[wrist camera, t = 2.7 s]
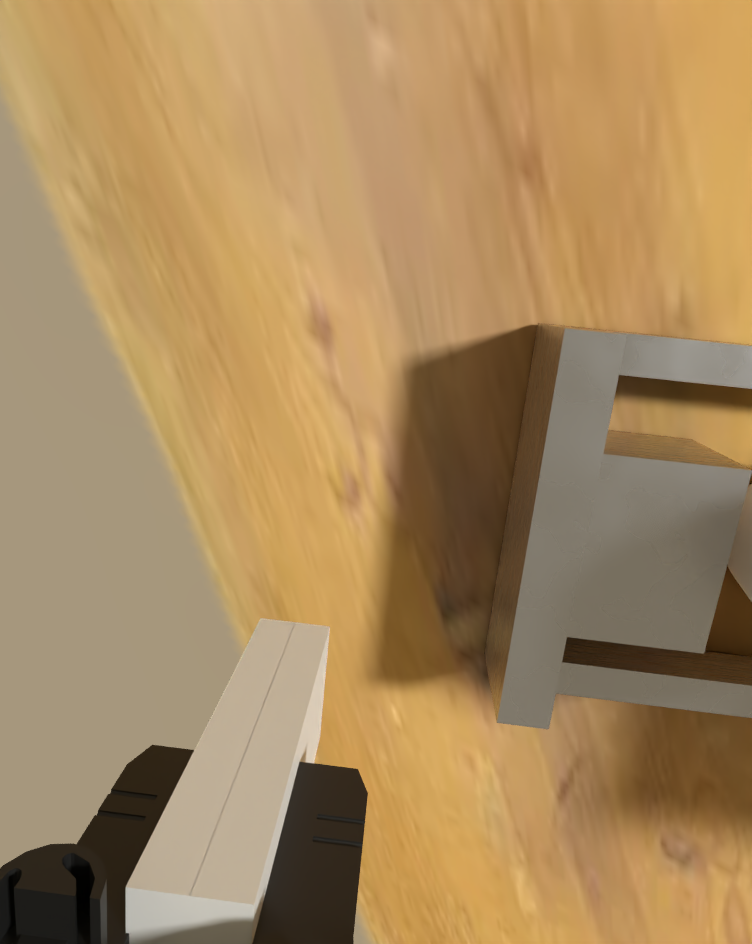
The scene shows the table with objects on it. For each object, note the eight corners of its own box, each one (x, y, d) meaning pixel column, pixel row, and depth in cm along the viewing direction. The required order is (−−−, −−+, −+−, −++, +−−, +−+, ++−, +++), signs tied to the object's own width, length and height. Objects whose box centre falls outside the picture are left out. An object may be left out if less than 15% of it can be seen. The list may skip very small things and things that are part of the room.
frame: (537, 322, 26) (564, 328, 21) (969, 367, 25) (1100, 383, 20) (484, 653, 30) (496, 722, 25) (855, 699, 29) (942, 779, 24)
